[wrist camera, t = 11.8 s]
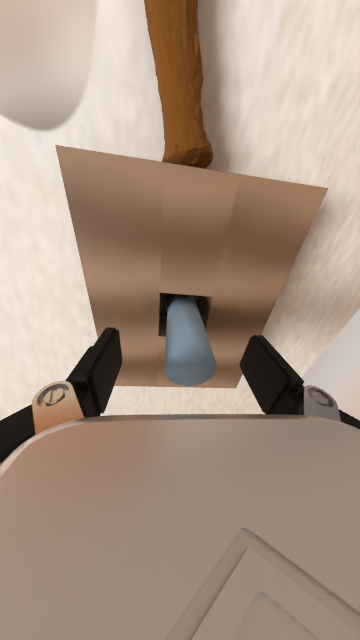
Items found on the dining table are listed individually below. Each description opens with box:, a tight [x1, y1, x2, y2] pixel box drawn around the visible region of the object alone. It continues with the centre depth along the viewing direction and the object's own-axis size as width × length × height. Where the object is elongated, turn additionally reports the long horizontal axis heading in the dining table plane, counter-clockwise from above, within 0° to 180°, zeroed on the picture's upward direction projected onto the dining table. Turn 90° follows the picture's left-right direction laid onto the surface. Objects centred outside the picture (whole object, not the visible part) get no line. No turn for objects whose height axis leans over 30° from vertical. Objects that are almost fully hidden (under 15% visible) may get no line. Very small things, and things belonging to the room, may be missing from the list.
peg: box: [165, 293, 217, 386], centre depth 13 cm, size 3×3×10 cm
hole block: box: [55, 145, 328, 388], centre depth 15 cm, size 20×16×4 cm
